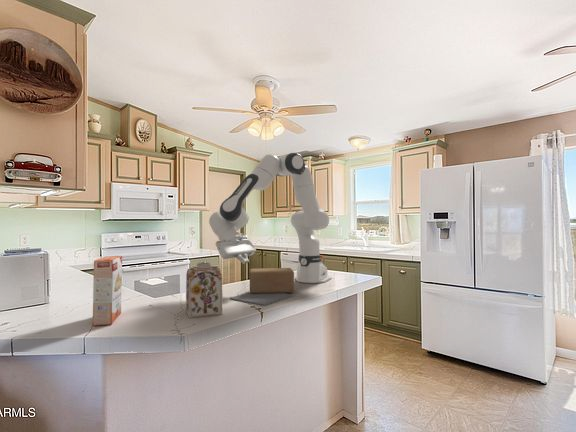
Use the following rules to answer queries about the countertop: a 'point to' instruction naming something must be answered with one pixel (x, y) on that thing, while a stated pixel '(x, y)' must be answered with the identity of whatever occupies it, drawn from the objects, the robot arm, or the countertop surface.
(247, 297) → the charcoal rubber mat
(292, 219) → the robot arm
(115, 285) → the cracker box
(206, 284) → the decorative jar
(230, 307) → the countertop surface
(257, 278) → the wooden block
